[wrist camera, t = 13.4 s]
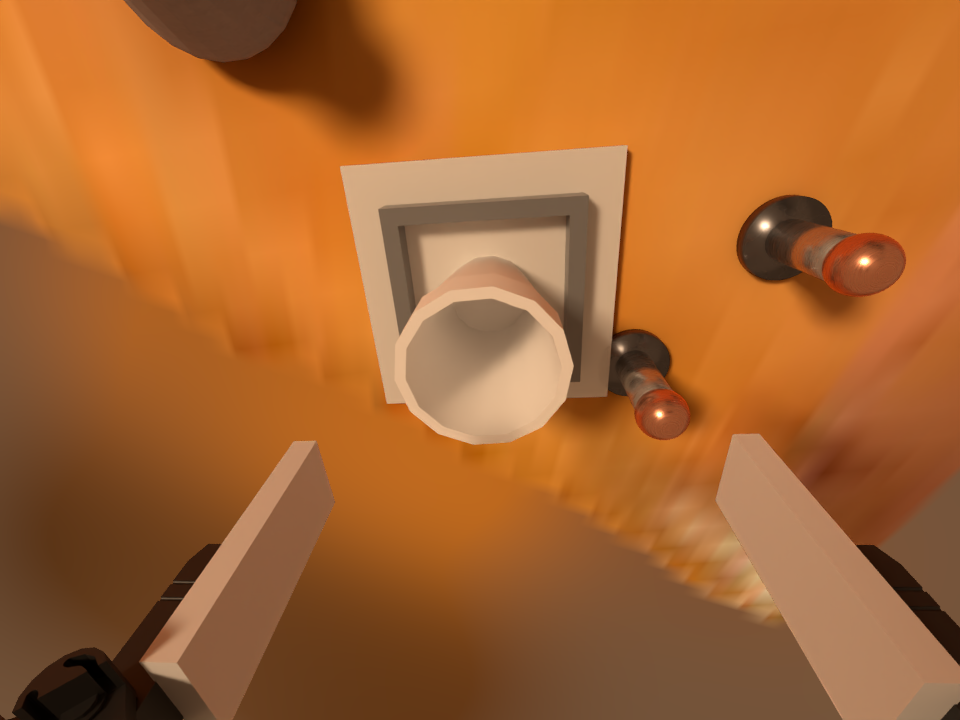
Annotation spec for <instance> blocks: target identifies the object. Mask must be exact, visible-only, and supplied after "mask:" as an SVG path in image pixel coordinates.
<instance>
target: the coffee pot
mask: <svg viewBox="0 0 960 720" xmlns="http://www.w3.org/2000/svg"><path fill="white" fill-rule="evenodd" d="M124 1H125V2H126V3H127V4H128V6H129V7H130V8H131V9H132V10H133V11H134V12H135V13H136V14H137V15H138V16H139V17H140V19H141V20H142V21H143V22H144V23H145V24H146V25H147V26H148V27H150V28H151V29H152V30H153V31H155V32H156V33H157V34H158V35H160V36H161V37H162V38H163V39H165V40H166V41H167V42H169V43H170V44H171V45H173V46H174V47H177V48H179V49H181V50H183V51H185V52H187V53H189V54H191V55H193V56H195V57H197V58H201V59H207V60H212V61H218V62H230V61H237V60H243V59H249V58H251V57H252V56H254V55H256V54H258V53H260V52H262V51H263V50H265V49H267V48H268V47H269V46H270V45H271V44H272V43H273V42H274V41H275V40H276V39H277V37H278V36H279V35H280V34H281V33H282V32H283V31H284V29H285V28H286V26H287V24H288V22H289V19H290V17H291V15H292V13H293V11H294V9H295V6H296V3H297V0H124Z"/></svg>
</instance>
